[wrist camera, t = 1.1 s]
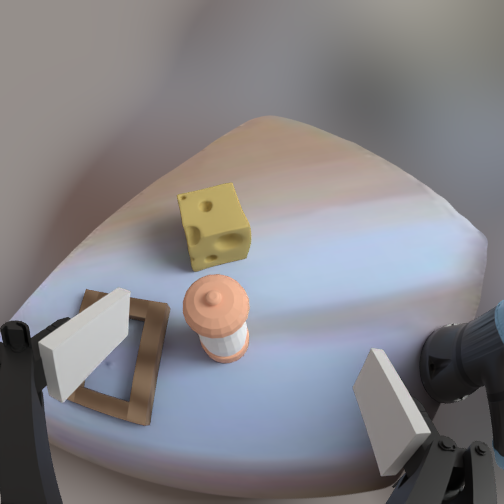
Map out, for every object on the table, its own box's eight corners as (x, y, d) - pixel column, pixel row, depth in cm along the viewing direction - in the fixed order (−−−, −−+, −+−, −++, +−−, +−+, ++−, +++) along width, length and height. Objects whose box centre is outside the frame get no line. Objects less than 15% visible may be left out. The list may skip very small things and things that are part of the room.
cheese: (193, 274, 50) (183, 243, 41) (183, 225, 55) (174, 191, 46) (250, 259, 52) (252, 226, 43) (235, 213, 57) (234, 177, 48)
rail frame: (150, 425, 36) (144, 425, 34) (67, 397, 37) (60, 396, 34) (170, 308, 46) (166, 303, 44) (92, 294, 47) (85, 289, 45)
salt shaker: (200, 360, 42) (170, 327, 26) (205, 317, 46) (182, 260, 29) (247, 365, 42) (248, 335, 25) (250, 321, 46) (253, 265, 29)
